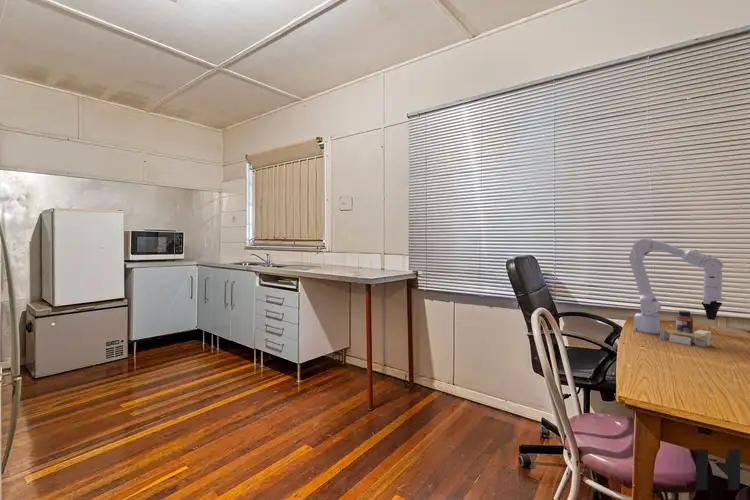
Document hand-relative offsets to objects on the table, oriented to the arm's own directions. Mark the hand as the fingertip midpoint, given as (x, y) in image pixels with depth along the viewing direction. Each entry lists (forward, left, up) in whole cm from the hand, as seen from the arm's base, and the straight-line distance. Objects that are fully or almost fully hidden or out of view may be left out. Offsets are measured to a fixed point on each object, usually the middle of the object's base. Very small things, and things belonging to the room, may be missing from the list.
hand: (711, 319), depth 161 cm
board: (-6, -11, -10) cm, 16 cm away
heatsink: (-6, -12, -9) cm, 16 cm away
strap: (-6, -12, -6) cm, 15 cm away
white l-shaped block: (0, -11, -9) cm, 14 cm away
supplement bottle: (-11, +7, -11) cm, 17 cm away
